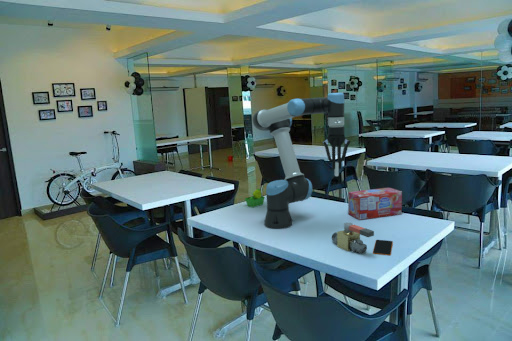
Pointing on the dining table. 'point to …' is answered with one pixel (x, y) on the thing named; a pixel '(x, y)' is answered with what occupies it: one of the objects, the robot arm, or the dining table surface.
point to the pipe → (349, 241)
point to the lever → (357, 230)
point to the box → (374, 203)
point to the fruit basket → (255, 199)
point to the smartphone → (383, 247)
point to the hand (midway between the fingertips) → (336, 175)
